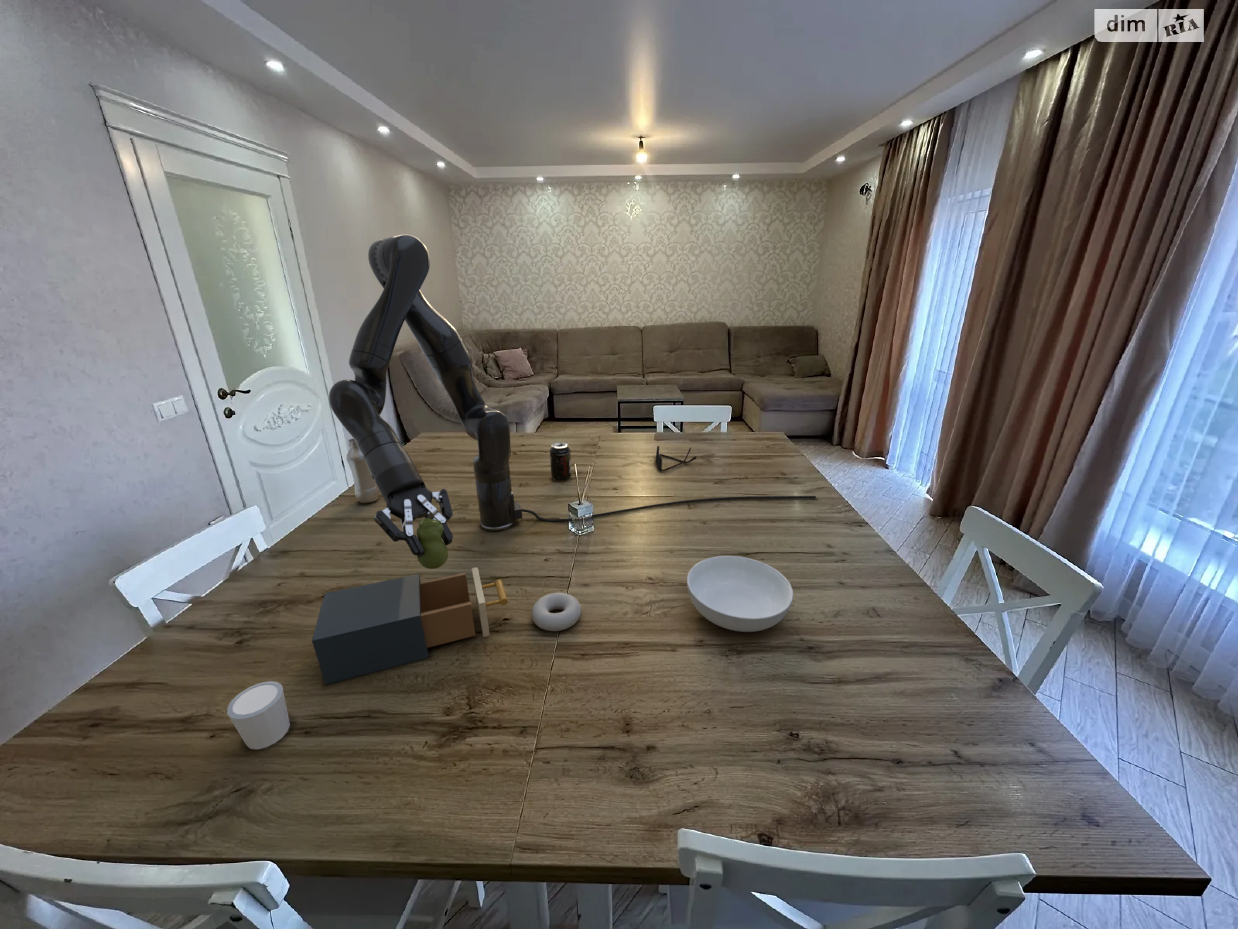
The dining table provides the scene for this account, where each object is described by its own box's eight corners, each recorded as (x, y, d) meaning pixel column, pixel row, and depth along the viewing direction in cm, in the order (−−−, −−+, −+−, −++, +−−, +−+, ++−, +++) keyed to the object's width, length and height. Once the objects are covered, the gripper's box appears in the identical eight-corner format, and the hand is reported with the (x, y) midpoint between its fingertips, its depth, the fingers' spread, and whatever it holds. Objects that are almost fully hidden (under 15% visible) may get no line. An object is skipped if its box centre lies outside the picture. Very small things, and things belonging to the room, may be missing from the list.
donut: (569, 640, 92) (589, 607, 101) (568, 626, 91) (588, 594, 100) (523, 629, 96) (546, 598, 104) (521, 615, 94) (545, 584, 103)
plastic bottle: (371, 506, 146) (357, 444, 138) (351, 504, 147) (337, 442, 140) (385, 497, 152) (372, 437, 144) (366, 495, 153) (352, 435, 146)
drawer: (502, 593, 104) (498, 562, 102) (512, 629, 94) (508, 596, 91) (403, 616, 98) (396, 584, 95) (402, 658, 87) (394, 623, 84)
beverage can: (575, 477, 166) (574, 444, 161) (563, 484, 160) (561, 450, 156) (560, 473, 169) (558, 440, 165) (547, 479, 164) (545, 446, 159)
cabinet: (426, 612, 100) (418, 573, 96) (428, 658, 88) (419, 615, 85) (336, 633, 94) (324, 593, 91) (325, 685, 83) (311, 640, 79)
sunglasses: (697, 472, 169) (698, 459, 167) (656, 472, 169) (656, 459, 167) (691, 455, 184) (692, 443, 182) (654, 455, 184) (654, 443, 182)
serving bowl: (729, 662, 87) (732, 631, 84) (666, 597, 104) (667, 570, 102) (812, 625, 96) (817, 596, 93) (741, 571, 113) (744, 546, 110)
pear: (413, 570, 90) (404, 523, 87) (433, 556, 95) (425, 510, 91) (437, 577, 89) (429, 529, 85) (456, 562, 93) (449, 516, 89)
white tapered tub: (258, 715, 77) (245, 682, 74) (303, 712, 78) (292, 679, 75) (230, 755, 71) (214, 720, 68) (279, 751, 71) (266, 716, 69)
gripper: (358, 474, 84) (402, 558, 81) (434, 452, 94) (476, 526, 91) (352, 493, 89) (393, 572, 86) (424, 470, 99) (464, 541, 96)
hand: (435, 548), depth 89 cm, fingers closed on pear, 5 cm apart
